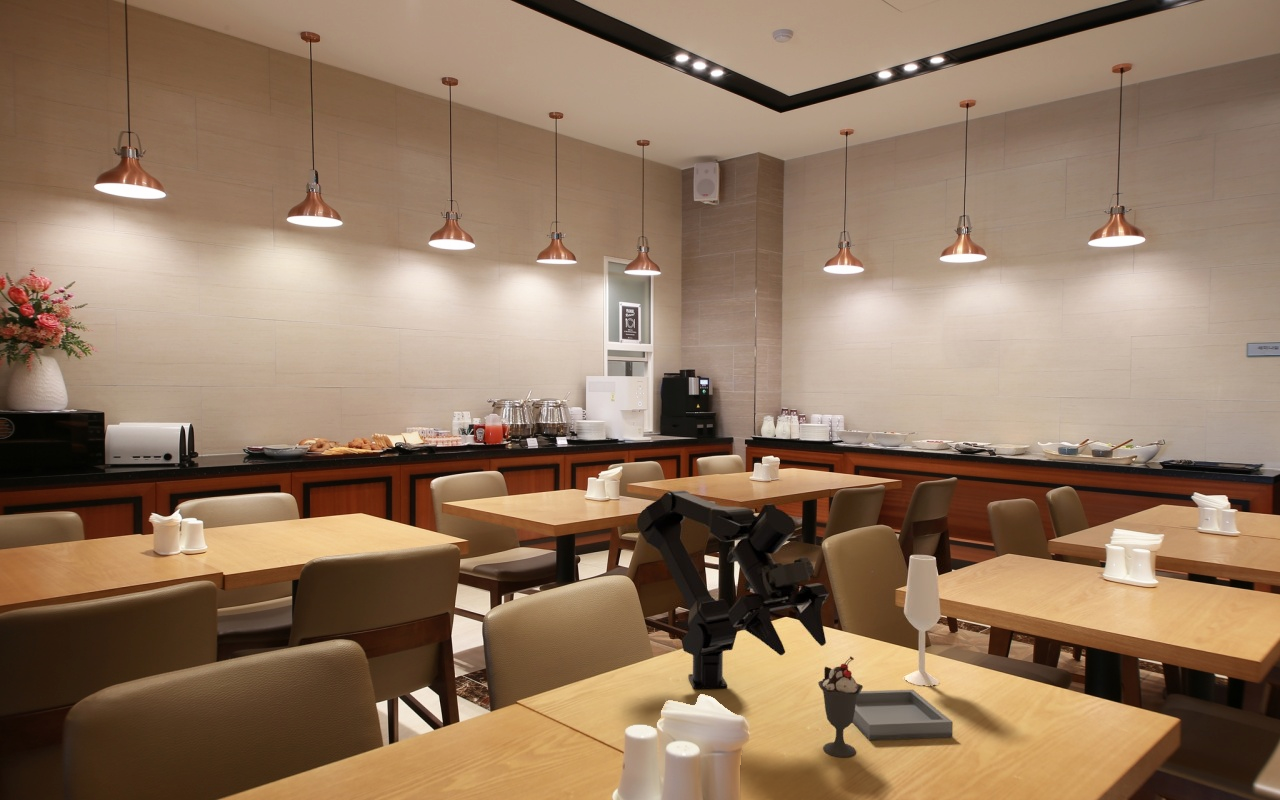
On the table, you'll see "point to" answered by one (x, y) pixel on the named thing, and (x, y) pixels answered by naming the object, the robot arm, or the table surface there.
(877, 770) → the table surface
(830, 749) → the sundae
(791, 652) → the table surface
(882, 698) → the tray
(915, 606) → the champagne flute
